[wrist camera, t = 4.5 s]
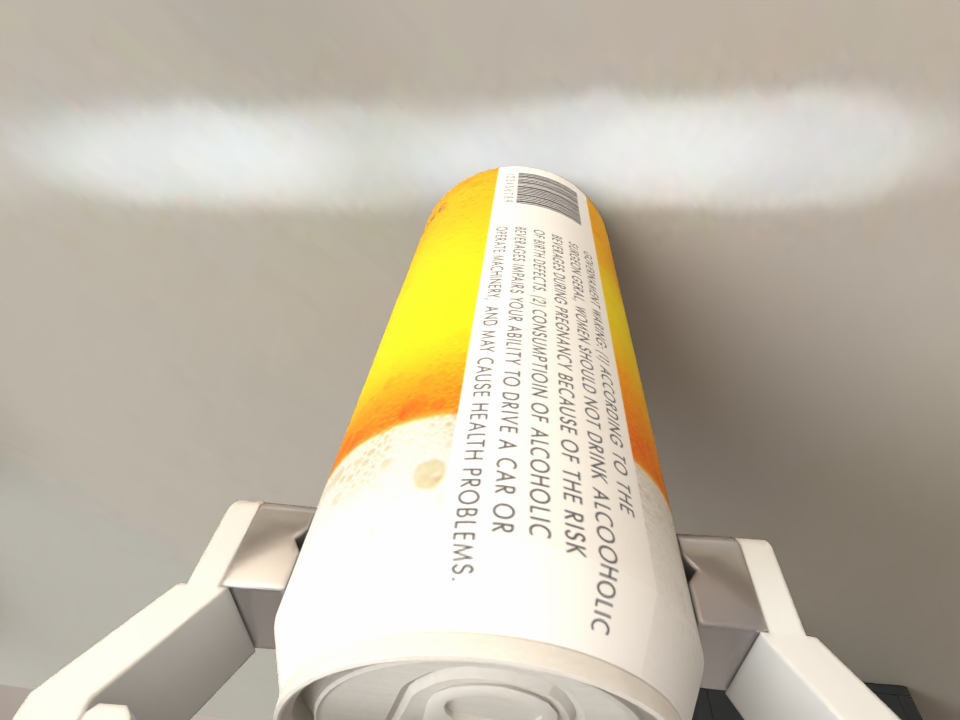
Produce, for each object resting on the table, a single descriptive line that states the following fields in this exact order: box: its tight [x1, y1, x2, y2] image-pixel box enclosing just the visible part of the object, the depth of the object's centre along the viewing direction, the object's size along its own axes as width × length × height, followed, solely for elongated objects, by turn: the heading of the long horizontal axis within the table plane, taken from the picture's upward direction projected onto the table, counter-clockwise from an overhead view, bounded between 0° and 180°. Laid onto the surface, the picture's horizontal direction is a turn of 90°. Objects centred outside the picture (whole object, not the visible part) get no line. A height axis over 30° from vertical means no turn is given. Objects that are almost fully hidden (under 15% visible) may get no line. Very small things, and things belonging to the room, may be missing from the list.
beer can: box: [273, 166, 704, 720], centre depth 13 cm, size 6×6×15 cm
